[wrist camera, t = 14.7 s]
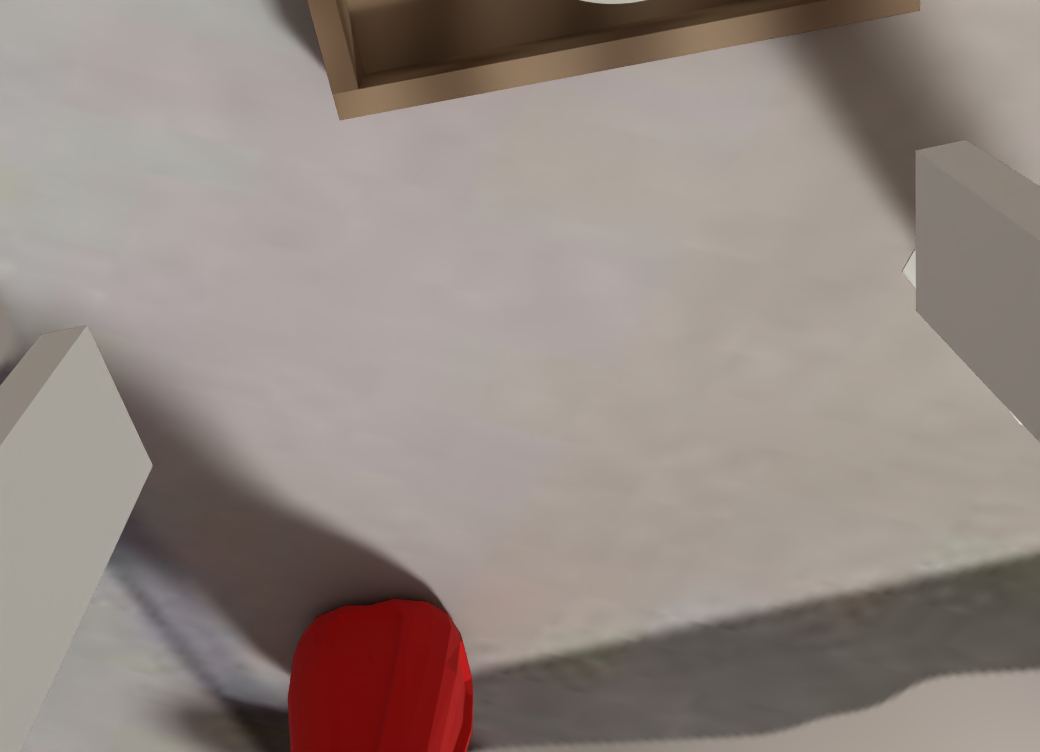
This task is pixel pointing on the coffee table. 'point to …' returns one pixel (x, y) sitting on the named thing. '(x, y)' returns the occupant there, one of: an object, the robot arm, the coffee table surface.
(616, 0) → the coffee cup
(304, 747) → the water bottle
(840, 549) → the coffee table surface
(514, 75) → the walnut tray
